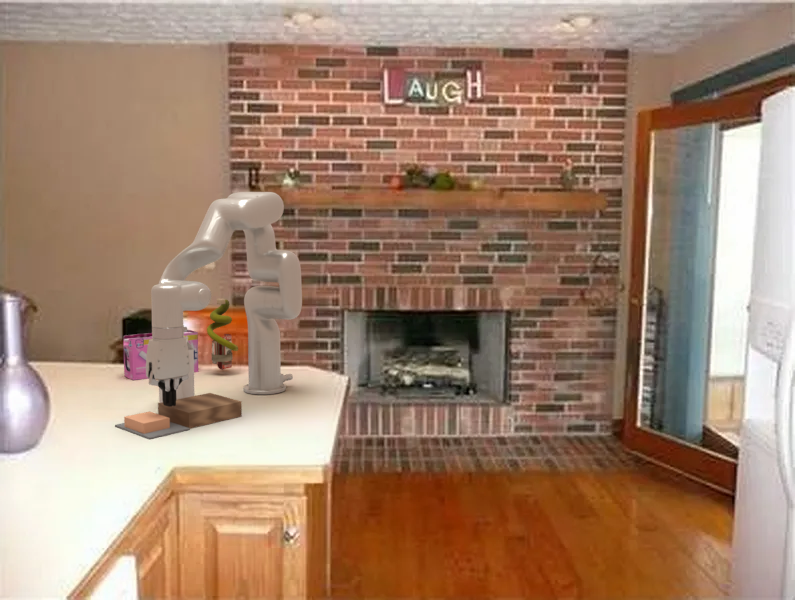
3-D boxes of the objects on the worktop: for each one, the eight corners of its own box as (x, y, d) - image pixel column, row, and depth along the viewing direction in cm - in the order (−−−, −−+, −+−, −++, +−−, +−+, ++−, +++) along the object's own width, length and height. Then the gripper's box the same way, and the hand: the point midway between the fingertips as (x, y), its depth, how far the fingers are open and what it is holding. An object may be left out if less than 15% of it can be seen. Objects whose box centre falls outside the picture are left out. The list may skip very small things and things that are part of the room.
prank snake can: (237, 376, 250) (236, 300, 247) (205, 377, 249) (204, 300, 246) (240, 369, 261) (239, 296, 258) (210, 370, 260) (209, 296, 257)
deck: (210, 407, 211) (210, 392, 211) (241, 416, 202) (241, 401, 201) (158, 418, 199) (158, 403, 199) (189, 428, 190) (188, 412, 189)
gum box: (129, 381, 242) (127, 339, 240) (119, 377, 248) (118, 335, 246) (199, 371, 257) (198, 331, 256) (188, 368, 263) (187, 329, 262)
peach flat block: (124, 416, 189) (124, 426, 190) (143, 423, 184) (144, 433, 184) (149, 411, 195) (149, 421, 195) (169, 417, 189) (169, 427, 189)
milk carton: (182, 407, 210) (181, 339, 208) (159, 405, 212) (157, 337, 210) (194, 401, 217) (193, 335, 215) (171, 399, 219) (170, 334, 217)
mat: (154, 417, 199) (154, 416, 199) (189, 429, 189) (189, 428, 189) (115, 426, 191) (114, 424, 191) (149, 439, 181) (149, 437, 181)
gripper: (185, 328, 199) (186, 397, 201) (132, 335, 188) (134, 408, 190) (202, 331, 194) (203, 402, 196) (149, 338, 183) (150, 413, 185)
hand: (169, 405), depth 193 cm, fingers closed
